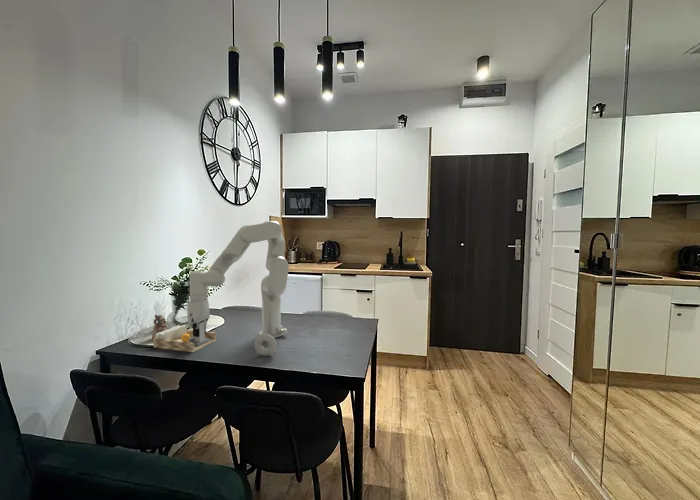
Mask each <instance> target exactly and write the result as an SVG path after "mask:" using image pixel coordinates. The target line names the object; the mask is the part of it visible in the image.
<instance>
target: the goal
mask: <svg viewBox="0 0 700 500" xmlns="http://www.w3.org/2000/svg"><path fill="white" fill-rule="evenodd" d="M186 329H187V325H186V324H183V325H179V324H178V325H176V326H173V327H171V328H167V330H165V331H163V332H160V333H157V334H156V338H158V339H166V340H170V339H172V338H175V337H177V336H178V337H181V336H182V335H183V334H185V333H186Z"/></svg>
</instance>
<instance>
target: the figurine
mask: <svg viewBox="0 0 700 500" xmlns="http://www.w3.org/2000/svg"><path fill="white" fill-rule="evenodd" d="M153 323H154V326H153V328H152V334H151V335H152V336H151V339H152V340H153V339H154V338H156V334H157V333H160V332H163V331H165V330H168V322H167V320H166V317H165V316H164V315H163V314H159V315H157V314H155V315H154V320H153Z"/></svg>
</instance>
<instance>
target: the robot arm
mask: <svg viewBox="0 0 700 500" xmlns="http://www.w3.org/2000/svg"><path fill="white" fill-rule="evenodd" d="M282 230H283V228H282V226H281V224H280V223H279V222H278V221H276V220H274V221H273V220H266V221H264V222H262V223H257V224H250V225H249V224H248V225H243V226H241V227H240V228H239V229H238V230H237V232H236V233H235V235H234V236H233V237H232V239H231V241H230V242H229V243H228V244H227V246H226V247H225V249H224V250H223V251H222V252H221V254H219V256H218V257H217V259H216V260H215V261H214V262H213V263H212V265H211V266H210V268H209V269H208V270H207V271H204V270H196V271H195V270H193V271H191V272H190V273H189V301H188V305H187V317H186V318H187V319H186V320H187V326H188V327H191V330H193V336H194V337H199V336H200V330H199V328H198V327H199V322H200V321H202V322H205V334H206V332H207V327H206V326H207V324H208V321H209V319H210V318H211V316H210V304H209V303H210V302H209V299H208V287H216V288H217V287H221V286H222V285H223V284H224V283H225V281H226V277H225V274H226V272H227V271H228V270H229V268H230V267H231V266H232V265H233V264H235V263H237V262H238V261H239V260H240V259H241V258H242V257H243V255H244V254H245V252H246V251H247V249H248V248H249V247H250V246H251V244H253V243H260V242H263V241H264V242H265V241H267V243H268V245H267V255H266V260H265V269H266V270H267V271H268V272H269V273H268V275H266V276H264V277H263V278H262V280H261V282H260V291H261V324H262V326H261V330H260V331H259V333H258V336H259V335H261V334H270V335H272V336H273V337H274V338H275V339H276V338H279V337H282V336H283V335H284V334H287V333H288V328H287V327H286V328H284V327H283V325H281V323H282V321H281V318H282V317H281V315H282V314H281V313H282V311H281V304H282V303H281V302H282V301H281V296H282V295H283V294H284V292H285V291H286V288H287V284H288V278H289V277H288V275H289V267H290V266H289V263H288V260H287V259H286V258H285V248H286V245H285V244H286V240H285V238H284V235H283V232H282ZM195 323H196V325H195Z"/></svg>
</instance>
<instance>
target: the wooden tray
mask: <svg viewBox="0 0 700 500" xmlns="http://www.w3.org/2000/svg"><path fill="white" fill-rule="evenodd" d="M186 333H187V334H189V335H190V338H192V337H194V336H193V329H187V328H186ZM205 338H208V339H210V341H208V342H206V343H204V344H202V345H200V346H194V343H190V342H189V341H187V342H183V341H182V340H181V337H178V336H177V337H175V338H172V339H170V340H166V339H158V338H154V339H152V341H153V342H152V343H153V345H152V346H153V348H156V349H157V348H158V349H164V350H171V351H172V350H173V351H180V352H189V353H194V352H196V351H199V350H200V349H203V348H205V347H206V346H208V345H210V344H212V343H214V342H216V341H217V333H216V332H213V331H206V334H205Z"/></svg>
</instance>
